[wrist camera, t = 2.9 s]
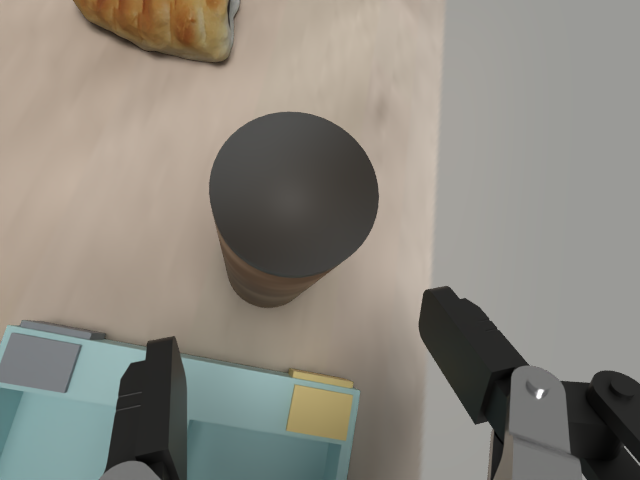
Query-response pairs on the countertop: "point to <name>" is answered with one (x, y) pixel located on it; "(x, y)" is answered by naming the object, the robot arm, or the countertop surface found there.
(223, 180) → the walnut peg
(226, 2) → the pastry
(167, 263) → the countertop surface
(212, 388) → the socket block
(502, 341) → the robot arm
